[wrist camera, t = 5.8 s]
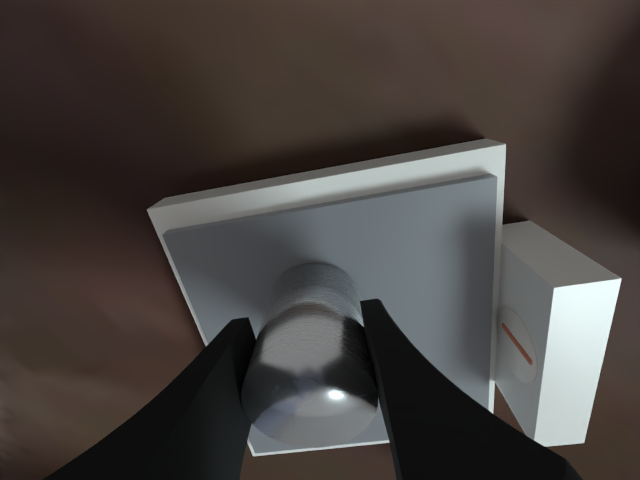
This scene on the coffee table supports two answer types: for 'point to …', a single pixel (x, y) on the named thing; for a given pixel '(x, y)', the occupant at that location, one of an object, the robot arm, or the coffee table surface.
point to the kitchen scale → (411, 275)
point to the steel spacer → (311, 361)
